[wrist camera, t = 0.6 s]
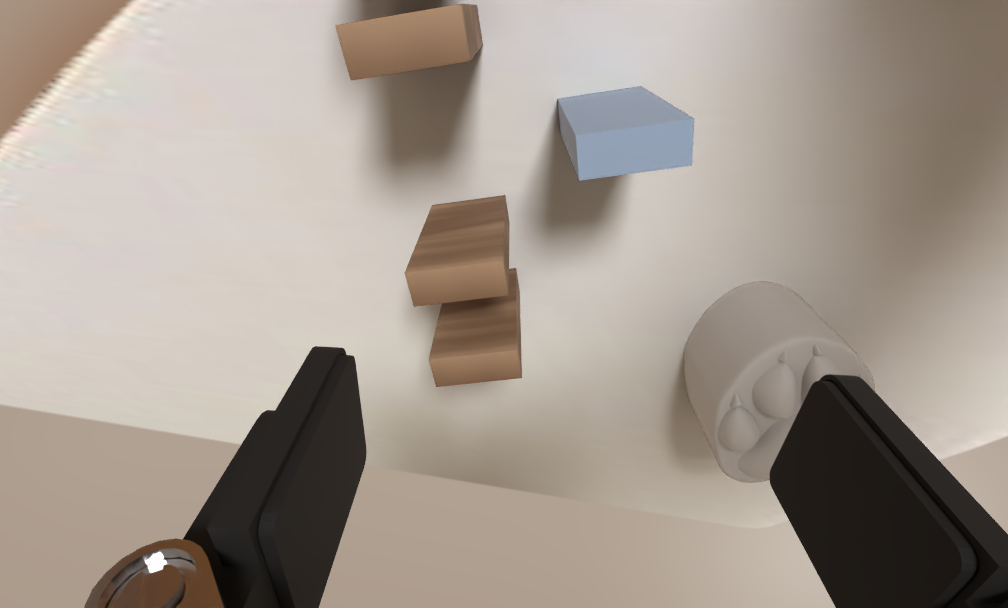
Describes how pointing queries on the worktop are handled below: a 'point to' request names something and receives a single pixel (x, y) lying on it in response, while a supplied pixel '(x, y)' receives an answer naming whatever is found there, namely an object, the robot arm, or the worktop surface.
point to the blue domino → (624, 133)
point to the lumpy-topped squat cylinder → (759, 372)
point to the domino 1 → (410, 41)
